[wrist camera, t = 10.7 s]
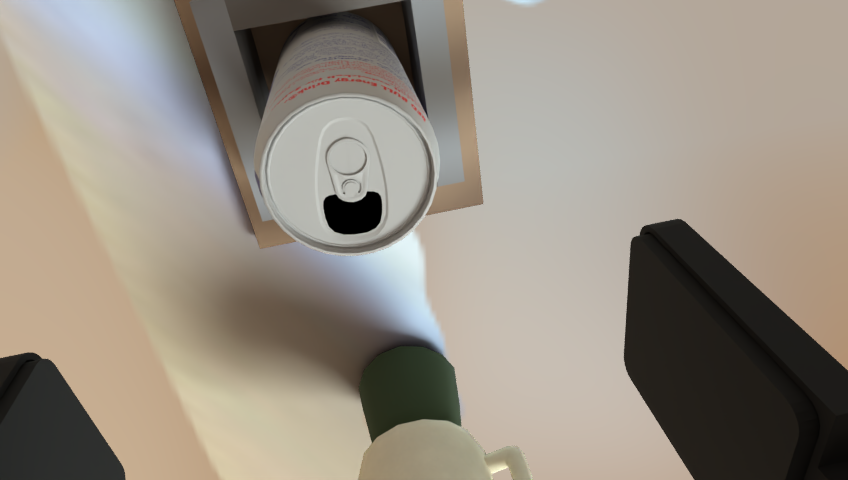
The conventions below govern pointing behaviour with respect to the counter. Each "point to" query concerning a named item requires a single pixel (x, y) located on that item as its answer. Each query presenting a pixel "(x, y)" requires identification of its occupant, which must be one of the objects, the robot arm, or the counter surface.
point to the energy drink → (344, 140)
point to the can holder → (258, 57)
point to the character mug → (423, 423)
